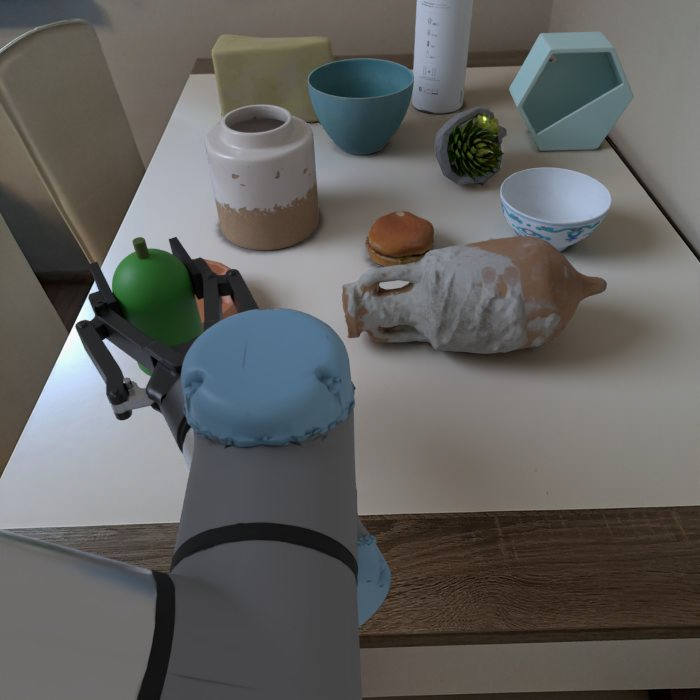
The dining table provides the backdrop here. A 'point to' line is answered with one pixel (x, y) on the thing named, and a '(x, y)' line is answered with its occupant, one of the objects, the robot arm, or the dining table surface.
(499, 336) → the amphora
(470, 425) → the dining table surface
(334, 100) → the plant pot
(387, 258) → the burger
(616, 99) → the planter
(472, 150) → the potted plant
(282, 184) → the vase
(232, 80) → the cheese
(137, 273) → the green pepper
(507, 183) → the chinaware
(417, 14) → the white tall cylinder
